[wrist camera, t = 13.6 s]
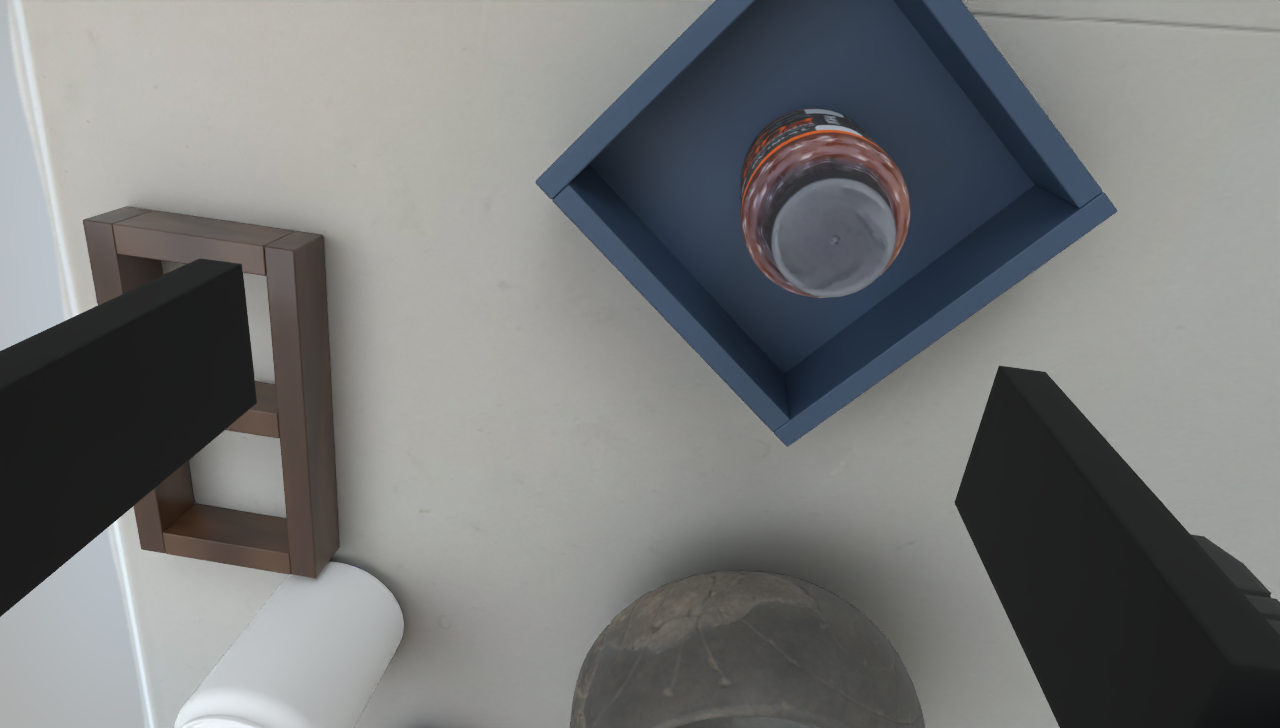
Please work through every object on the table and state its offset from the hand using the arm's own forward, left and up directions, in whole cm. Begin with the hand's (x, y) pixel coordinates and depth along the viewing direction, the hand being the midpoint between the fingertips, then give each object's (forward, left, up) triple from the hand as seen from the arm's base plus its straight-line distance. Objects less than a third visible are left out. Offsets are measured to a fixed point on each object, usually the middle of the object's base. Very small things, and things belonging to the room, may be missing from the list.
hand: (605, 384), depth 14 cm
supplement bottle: (+4, +4, -24) cm, 25 cm away
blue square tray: (+4, +4, -25) cm, 25 cm away
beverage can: (+6, -34, -25) cm, 43 cm away
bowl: (+23, -16, -25) cm, 38 cm away
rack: (-7, -27, -25) cm, 37 cm away
